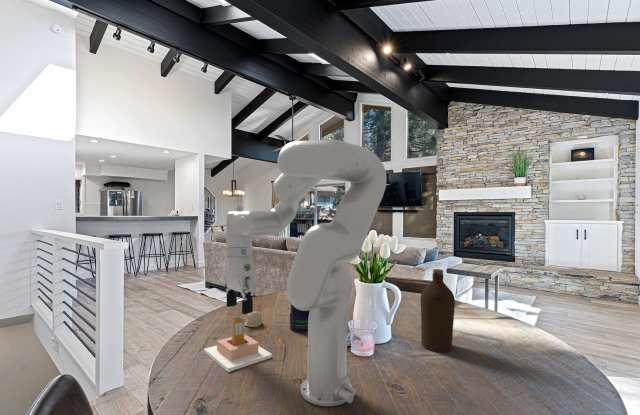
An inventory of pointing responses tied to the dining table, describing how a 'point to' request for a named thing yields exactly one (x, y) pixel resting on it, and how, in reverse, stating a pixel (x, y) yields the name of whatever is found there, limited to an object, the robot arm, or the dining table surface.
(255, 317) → the decorative ornament
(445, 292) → the olive oil
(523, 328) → the dining table surface
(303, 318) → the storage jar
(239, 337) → the supplement box
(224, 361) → the socket holder
